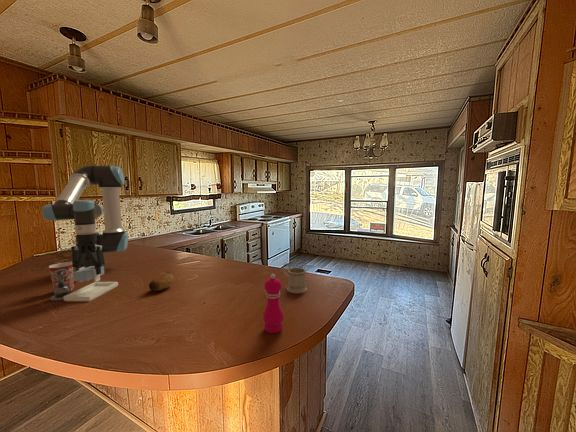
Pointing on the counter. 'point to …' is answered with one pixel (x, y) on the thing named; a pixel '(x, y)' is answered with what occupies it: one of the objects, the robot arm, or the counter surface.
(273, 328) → the pepper mill
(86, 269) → the windowed blue block
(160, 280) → the potato
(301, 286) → the mug
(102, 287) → the tray
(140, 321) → the counter surface
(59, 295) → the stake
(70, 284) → the mug
